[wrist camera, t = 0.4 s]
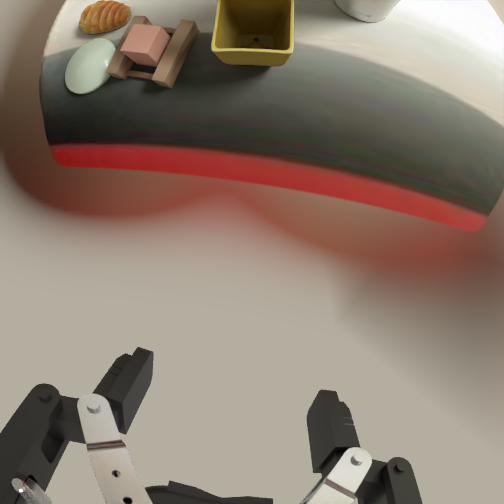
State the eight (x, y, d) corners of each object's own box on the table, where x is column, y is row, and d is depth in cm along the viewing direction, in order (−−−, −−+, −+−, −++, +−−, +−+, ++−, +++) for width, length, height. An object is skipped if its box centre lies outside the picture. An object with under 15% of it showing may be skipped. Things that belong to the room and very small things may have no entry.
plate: (83, 39, 30) (80, 38, 29) (127, 41, 31) (125, 39, 30) (60, 91, 33) (57, 90, 32) (102, 97, 33) (99, 96, 32)
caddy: (142, 24, 30) (134, 15, 27) (199, 31, 31) (194, 21, 27) (115, 77, 33) (105, 72, 30) (171, 88, 33) (164, 82, 30)
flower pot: (286, 79, 32) (293, 53, 24) (221, 76, 33) (209, 51, 24) (288, 28, 30) (294, -5, 21) (226, 26, 30) (218, -7, 22)
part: (149, 40, 31) (134, 23, 25) (174, 43, 31) (161, 26, 25) (137, 64, 32) (120, 50, 26) (162, 68, 32) (147, 53, 27)
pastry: (140, 4, 29) (131, -7, 25) (123, 35, 31) (112, 27, 27) (98, 6, 28) (88, -2, 25) (82, 36, 30) (70, 29, 27)
